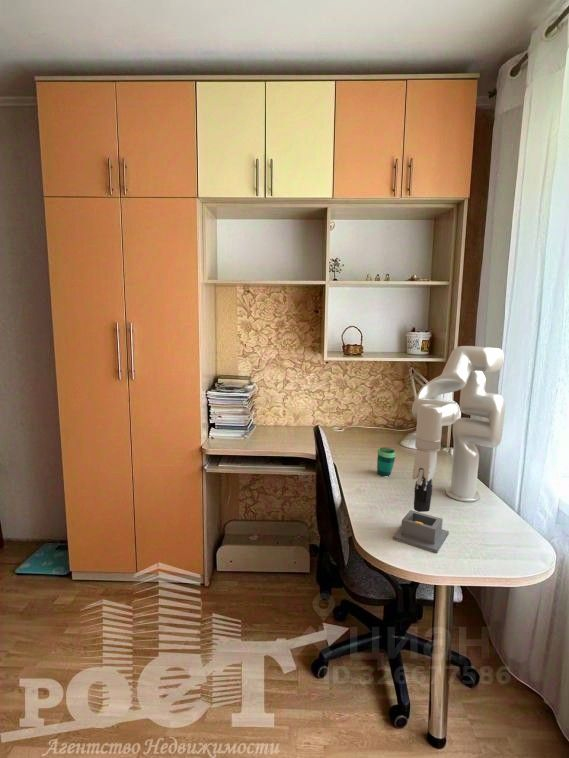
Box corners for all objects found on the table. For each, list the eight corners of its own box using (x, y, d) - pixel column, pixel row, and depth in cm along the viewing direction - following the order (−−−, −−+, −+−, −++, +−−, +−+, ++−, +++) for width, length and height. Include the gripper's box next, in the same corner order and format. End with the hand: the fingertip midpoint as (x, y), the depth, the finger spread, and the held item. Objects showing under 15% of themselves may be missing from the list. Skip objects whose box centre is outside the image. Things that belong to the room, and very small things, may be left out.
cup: (388, 471, 198) (390, 445, 196) (398, 477, 190) (400, 451, 189) (372, 472, 196) (374, 447, 194) (382, 479, 188) (383, 453, 186)
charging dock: (406, 521, 151) (408, 504, 150) (448, 534, 143) (450, 515, 142) (392, 539, 139) (393, 520, 138) (437, 553, 131) (438, 533, 130)
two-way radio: (427, 507, 142) (430, 463, 139) (433, 513, 137) (437, 469, 135) (411, 508, 141) (414, 464, 138) (417, 514, 137) (420, 469, 134)
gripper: (423, 435, 145) (420, 487, 148) (407, 448, 131) (403, 504, 134) (447, 439, 141) (442, 492, 144) (432, 452, 127) (428, 511, 130)
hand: (423, 497), depth 139 cm, fingers closed on two-way radio, 4 cm apart
